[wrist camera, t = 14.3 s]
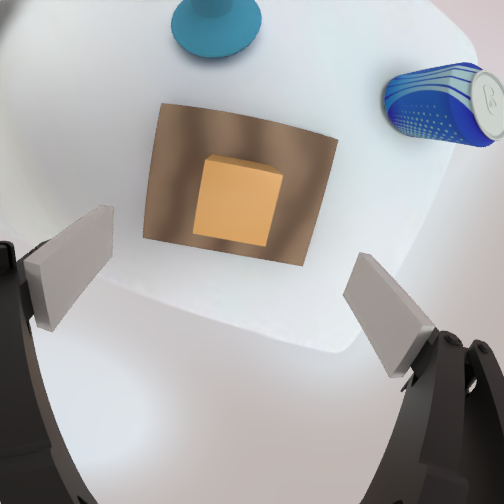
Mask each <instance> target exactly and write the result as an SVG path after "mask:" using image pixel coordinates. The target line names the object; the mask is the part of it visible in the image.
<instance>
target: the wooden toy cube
mask: <svg viewBox="0 0 504 504" xmlns="http://www.w3.org/2000/svg"><path fill="white" fill-rule="evenodd" d="M282 178H283V175H282V174H281V173H280V172H279V171H278V170H277V169H276V168H274V167H273V166H271V165H266V164H262V163H257V162H252V161H247V160H242V159H237V158H232V157H227V156H221V155H216V154H212V155H210V156H209V157H208V158H207V159H205V164H204V169H203V174H202V180H201V185H200V191H199V197H198V203H197V209H196V215H195V221H194V228H193V234H198V235H204V236H209V237H215V238H220V239H226V240H231V241H237V242H242V243H248V244H253V245H259V246H264V247H265V246H266V242H267V238H268V234H269V230H270V226H271V222H272V218H273V214H274V210H275V206H276V202H277V198H278V194H279V190H280V186H281V182H282Z"/></svg>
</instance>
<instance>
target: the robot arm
mask: <svg viewBox="0 0 504 504" xmlns="http://www.w3.org/2000/svg"><path fill="white" fill-rule="evenodd" d="M113 212H114V207H109V206H103V205H100V206H99V207H97V208H96V209H94V210H93V211H91V212H90V213H88V214H87V215H85V216H84V217H82V218H81V219H79V220H78V221H76V222H75V223H73V224H72V225H70V226H69V227H67V228H66V229H65V230H63V231H62V232H60V233H59V234H58V235H56V236H55V237H53V238H52V239H50V240H47V241H44V242H42V243H40V244H39V245H38V246H36V247H35V249H32V250H31V251H30V252H29V253H27V254H26V255H25V256H23V257H22V258H21V259H19V260H18V261H17V262H16V257H15V250H14V245H13V243H11V242H9V241H0V502H1V504H98V503H97V501H96V500H95V499H94V497H93V496H92V494H91V493H90V492H89V490H88V489H87V487H86V485H85V483H84V482H83V480H82V478H81V476H80V474H79V472H78V470H77V469H76V466H75V464H74V462H73V460H72V458H71V456H70V454H69V452H68V449H67V448H66V445H65V443H64V440H63V438H62V435H61V433H60V431H59V428H58V425H57V423H56V420H55V418H54V415H53V412H52V409H51V406H50V403H49V401H48V397H47V393H46V390H45V387H44V384H43V380H42V377H41V373H40V369H39V365H38V361H37V357H36V352H35V347H34V342H33V337H32V332H31V327H30V323H29V319H30V318H31V317H32V316H33V315H34V317H35V320H36V324H37V327H39V328H42V329H45V330H47V331H50V332H53V331H54V330H55V328H56V327H57V325H58V324H59V323H60V321H61V320H62V318H63V317H64V316H65V314H66V313H67V312H68V310H69V309H70V308H71V306H72V305H73V304H74V302H75V301H76V300H77V298H78V297H79V296H80V295H81V293H82V292H83V291H84V290H85V288H86V287H87V286H88V284H89V283H90V282H91V281H92V279H93V278H94V277H95V276H96V275H97V274H98V272H99V271H100V270H101V269H102V268H103V266H104V265H105V264H106V263H107V262H108V260H109V259H110V258H111V257H112V236H113ZM343 296H344V298H345V300H346V301H347V303H348V305H349V306H350V308H351V310H352V311H353V313H354V315H355V317H356V318H357V320H358V322H359V323H360V325H361V327H362V329H363V330H364V332H365V334H366V336H367V337H368V339H369V341H370V343H371V344H372V346H373V348H374V350H375V352H376V354H377V355H378V357H379V359H380V361H381V363H382V364H383V366H384V368H385V370H386V372H387V374H388V376H389V377H390V378H399V377H403V376H404V375H405V373H406V372H407V371H408V369H409V368H410V366H411V368H412V370H413V371H414V373H413V374H412V376H411V377H410V378H409V380H408V381H407V383H406V384H405V385H404V387H403V388H402V389H401V392H403V391H404V389H406V392H405V396H404V399H403V403H402V406H401V409H400V412H399V415H398V418H397V421H396V424H395V427H394V429H393V433H392V435H391V438H390V440H389V443H388V445H387V448H386V451H385V453H384V455H383V458H382V460H381V462H380V465H379V467H378V469H377V471H376V474H375V476H374V478H373V480H372V482H371V484H370V486H369V488H368V490H367V492H366V494H365V496H364V498H363V500H362V501H361V503H360V504H504V376H503V374H502V371H501V369H500V367H499V365H498V362H497V360H496V358H495V356H494V353H493V351H492V350H491V348H490V347H489V346H488V344H487V343H485V342H484V341H483V342H482V341H480V340H474V341H473V343H472V344H471V346H470V347H469V348H465V347H463V344H462V342H461V341H460V339H459V338H458V337H457V336H456V335H454V334H452V333H450V332H448V331H440V332H439V330H438V329H437V328H436V327H435V325H434V324H433V322H432V321H431V320H430V319H429V318H428V316H427V315H426V314H425V313H424V312H423V311H422V310H421V308H420V307H419V306H418V305H417V304H416V303H415V302H414V300H413V299H412V298H411V297H410V296H409V295H408V294H407V293H406V292H405V290H404V289H403V288H402V287H401V286H400V285H399V284H398V283H397V282H396V281H395V280H394V278H393V277H392V276H391V275H390V274H389V273H388V272H387V271H386V270H385V269H384V268H383V267H382V266H381V265H380V264H379V263H378V262H377V261H376V260H375V259H374V258H373V257H372V255H370V254H365V253H360V252H359V255H358V257H357V260H356V263H355V265H354V268H353V271H352V273H351V276H350V278H349V281H348V283H347V286H346V288H345V291H344V293H343ZM476 379H477V382H476V386H475V388H474V389H473V390H472V392H469V388H470V387H471V385H472V384H473V383H474V382H475V380H476Z"/></svg>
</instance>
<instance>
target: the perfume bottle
mask: <svg viewBox="0 0 504 504" xmlns="http://www.w3.org/2000/svg"><path fill="white" fill-rule="evenodd" d="M261 18H262V16H261V12H260V9H259V7H258V5H257V3H256V2H255V1H254V0H183V1H182V2H181V3H180V4H179V5H178V7H177V8H176V10H175V11H174V14H173V17H172V21H171V29H172V33H173V36H174V38H175V40H176V41H177V42H178V44H179V45H181V46H182V47H183V48H184V49H185V50H187V51H188V52H190V53H192V54H194V55H197V56H200V57H207V58H220V57H226V56H229V55H232V54H235V53H237V52H239V51H241V50H243V49H244V48H245V47H247V46H248V45H249V44H250V43H251V42H252V41H253V40H254V38H255V37H256V35H257V33H258V32H259V29H260V26H261Z"/></svg>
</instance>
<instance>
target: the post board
mask: <svg viewBox="0 0 504 504" xmlns="http://www.w3.org/2000/svg"><path fill="white" fill-rule="evenodd" d="M337 143H338V140H337V139H334V138H331V137H328V136H324V135H321V134H318V133H314V132H311V131H307V130H304V129H300V128H296V127H292V126H288V125H284V124H280V123H276V122H272V121H268V120H263V119H259V118H254V117H249V116H244V115H239V114H234V113H228V112H223V111H217V110H211V109H204V108H197V107H190V106H182V105H174V104H164V103H162V104H161V108H160V113H159V118H158V124H157V129H156V134H155V140H154V146H153V152H152V159H151V166H150V173H149V180H148V188H147V197H146V206H145V216H144V228H143V238H147V239H152V240H158V241H163V242H169V243H174V244H180V245H185V246H191V247H197V248H202V249H208V250H213V251H219V252H225V253H230V254H236V255H242V256H247V257H253V258H259V259H264V260H270V261H276V262H281V263H287V264H293V265H299V266H303V263H304V260H305V257H306V254H307V251H308V247H309V244H310V241H311V237H312V234H313V231H314V227H315V224H316V221H317V217H318V214H319V210H320V207H321V203H322V200H323V196H324V193H325V189H326V185H327V182H328V178H329V174H330V170H331V167H332V163H333V159H334V155H335V151H336V147H337ZM212 154H216V155H221V156H227V157H232V158H237V159H242V160H247V161H252V162H257V163H262V164H266V165H271V166H273V167H274V168H276V169H277V170H278V171H279V172H280V173H281V174H282V175H283V178H282V182H281V186H280V190H279V194H278V198H277V202H276V206H275V210H274V214H273V218H272V222H271V226H270V230H269V234H268V238H267V242H266V246H265V247H264V246H259V245H253V244H248V243H242V242H237V241H231V240H226V239H220V238H215V237H209V236H204V235H198V234H193V228H194V221H195V215H196V209H197V203H198V197H199V191H200V185H201V180H202V174H203V169H204V164H205V159H207V158H208V157H209V156H210V155H212Z"/></svg>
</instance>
